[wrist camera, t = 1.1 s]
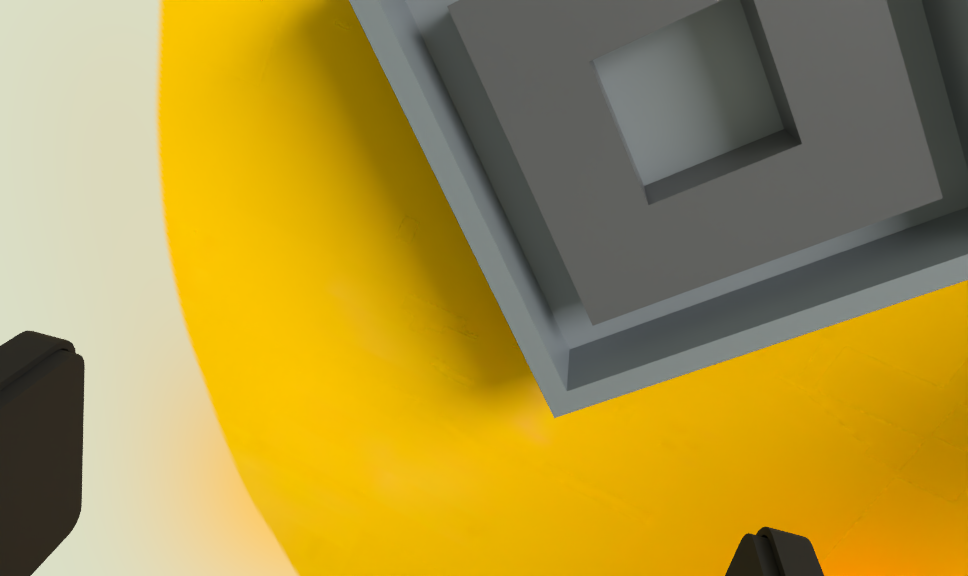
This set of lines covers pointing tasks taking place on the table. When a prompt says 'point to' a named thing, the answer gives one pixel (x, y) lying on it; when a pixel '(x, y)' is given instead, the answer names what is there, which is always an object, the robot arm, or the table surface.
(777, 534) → the robot arm
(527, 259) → the box
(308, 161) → the table surface
